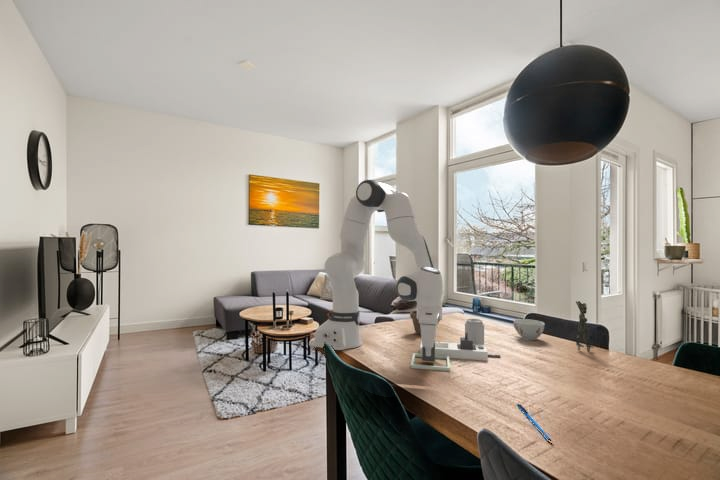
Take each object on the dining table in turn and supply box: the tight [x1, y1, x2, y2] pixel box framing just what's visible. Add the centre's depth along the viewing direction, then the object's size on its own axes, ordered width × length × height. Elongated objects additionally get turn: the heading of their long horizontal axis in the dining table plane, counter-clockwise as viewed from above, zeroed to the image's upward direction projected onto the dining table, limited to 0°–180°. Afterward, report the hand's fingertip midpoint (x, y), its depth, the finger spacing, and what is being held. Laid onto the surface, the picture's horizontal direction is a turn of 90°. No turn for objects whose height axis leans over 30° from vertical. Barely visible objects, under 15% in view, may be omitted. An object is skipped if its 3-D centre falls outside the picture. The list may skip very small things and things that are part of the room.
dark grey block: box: [421, 340, 436, 362], centre depth 125 cm, size 4×4×6 cm
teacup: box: [512, 318, 546, 341], centre depth 161 cm, size 15×12×8 cm
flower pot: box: [409, 310, 421, 336], centre depth 170 cm, size 12×11×10 cm
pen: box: [517, 403, 552, 441], centre depth 85 cm, size 1×19×1 cm, turn 177°
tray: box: [410, 352, 451, 372], centre depth 125 cm, size 13×13×2 cm
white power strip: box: [419, 341, 501, 361], centre depth 134 cm, size 29×9×5 cm, turn 77°
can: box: [464, 318, 485, 345], centre depth 144 cm, size 8×8×12 cm
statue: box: [575, 300, 595, 352], centre depth 142 cm, size 5×6×20 cm
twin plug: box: [459, 331, 473, 350], centre depth 134 cm, size 4×4×8 cm
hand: (428, 353), depth 125 cm, fingers closed on dark grey block, 4 cm apart
